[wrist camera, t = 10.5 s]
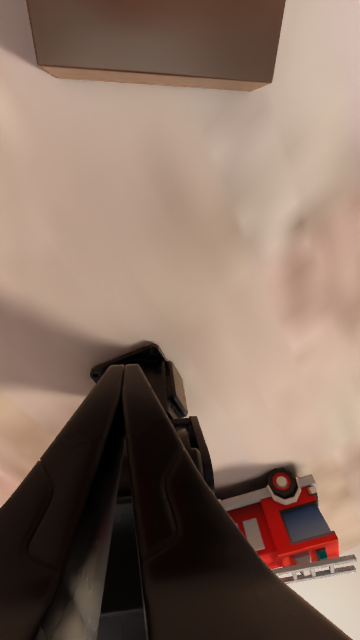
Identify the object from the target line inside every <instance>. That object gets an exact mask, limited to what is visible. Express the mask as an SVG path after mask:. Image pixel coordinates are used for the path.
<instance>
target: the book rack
mask: <svg viewBox="0 0 360 640" xmlns="http://www.w3.org/2000/svg"><path fill="white" fill-rule="evenodd" d="M26 1H27V7H28V13H29V19H30V25H31V30H32V36H33V42H34V48H35V54H36V60H37V64H38V66H40V67H41V68H43V69H44V70H45V71H47V72H48V73H50V74H51V75H53V76H54V77H56V78H67V79H81V80H95V81H110V82H124V83H138V84H153V85H167V86H181V87H196V88H210V89H224V90H239V91H253V90H255V89H258V88H260V87H262V86H265V85H267V84H270V83H272V80H273V74H274V68H275V62H276V56H277V49H278V43H279V37H280V31H281V25H282V19H283V13H284V7H285V1H286V0H26Z"/></svg>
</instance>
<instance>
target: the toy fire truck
mask: <svg viewBox="0 0 360 640" xmlns="http://www.w3.org/2000/svg"><path fill="white" fill-rule="evenodd" d="M215 496H216V495H215ZM216 498H217V497H216ZM218 501H219V502H220V503H221V505H222V506H223V507H224V509H225V510H226V512H227V513H228V514H229V516H230V517H231V518H232V520H233V521H234V522H235V524H236V525H237V527H238V528H239V529H240V531H241V532H242V533H243V535H244V536H245V537H246V539H247V540H248V541H249V543H250V544H251V546H252V547H253V548H254V550H255V551H256V552H257V553H258V555H259V556H260V557H261V558H262V560H263V561H264V562H265V563H266V564H267V566H268V567H269V568H270V569H272V571H273V572H274V573H275V574H276V575H277V576H278V575H284V574H289V573H292V575H293V576H291V577H286V578H280V579H281V580H282V581H283V582H284V583H285V584H289V583H294V582H300V581H306V580H311V579H318V578H323V577H329V576H334V575H340V574H346V573H351V572H356V569H355V567H354V566H347V567H341V568H336V569H334V565H339V564H344V563H350V562H356V561H357V559H356V557H355V556H354V555H349V556H343V557H339V547H338V538H337V536H336V534H335V532H334V531H331V530H330V528H329V527H328V525H327V523H326V521H325V520H324V518H323V516H322V514H321V512H320V511H319V508H318V507H319V506H318V496H317V490H316V482H315V480H314V479H313V477H312V475H308V476H304V477H301V478H298V477H295V478H294V477H293V475H292V473H290V472H289V471H287V470H285V469H284V468H280V469H274V470H273V471H272V472H271V473H270V474H269V485H267V487H266V488H263V489H259V490H256V491H252V492H249V493H245V494H242V495H238V496H235V497H231V498H228V499H224V500H220V499H218ZM282 566H283V568H278V567H282ZM328 566H329V570H325V571H319V572H315V569H317V568H323V567H328ZM274 568H278V569H274ZM296 572H300V573H301V574H302V575H296Z"/></svg>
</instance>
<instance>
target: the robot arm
mask: <svg viewBox="0 0 360 640" xmlns="http://www.w3.org/2000/svg"><path fill="white" fill-rule="evenodd" d="M152 349H155V351H152ZM95 373H98V374H95ZM90 376H91V378H92V379H93V380H94V381H95V383H96V385H95V386H94V388H93V389H92V390H91V392H90V393H89V394H88V396H87V397H86V398H85V400H84V401H83V402H82V404H81V405H80V406H79V408H78V409H77V410H76V412H75V413H74V414H73V416H72V417H71V418H70V420H69V421H68V422H67V424H66V425H65V426H64V428H63V429H62V430H61V432H60V433H59V434H58V436H57V437H56V438H55V440H54V441H53V442H52V444H51V445H50V446H49V448H48V449H47V450H46V451H45V453H44V454H43V455H42V457H41V458H40V460H41V461H38V462H37V463H36V465H35V466H34V467H33V469H32V470H31V471H30V473H29V474H28V475H27V477H26V478H25V479H24V480H23V482H22V483H21V484H20V485H19V487H18V488H17V489H16V490H15V492H14V493H13V494H12V495H11V497H10V498H9V499H8V500H7V501H6V502H5V504H4V505H3V506H2V507H1V508H0V640H352V639H351V638H350V637H349V636H348V635H346V634H345V633H344V632H343V631H342V630H340V629H339V628H338V627H337V626H336V625H334V624H333V623H332V622H331V621H329V620H328V619H327V618H326V617H325V616H323V615H322V614H321V613H320V612H319V611H317V610H316V609H315V608H314V607H313V606H311V605H310V604H309V603H308V602H307V601H305V600H304V599H303V598H302V597H301V596H299V595H298V594H297V593H296V592H295V591H293V590H292V589H291V588H290V587H288V586H287V585H286V584H285V583H284V582H283V581H282V580H281V579H280V578H278V576H277V575H276V574H275V573H274V572H273V571H272V570H271V569H270V568H269V567H268V566H267V564H266V563H265V562H264V561H263V560H262V558H261V557H260V556H259V555H258V553H257V552H256V551H255V550H254V548H253V547H252V546H251V544H250V543H249V541H248V540H247V539H246V537H245V536H244V535H243V533H242V532H241V531H240V529H239V528H238V527H237V525H236V524H235V522H234V521H233V520H232V518H231V517H230V516H229V514H228V513H227V512H226V510H225V509H224V507H223V506H222V505H221V503H220V502H219V501H218V499H217V498H216V496H215V487H214V477H213V469H212V463H211V459H210V455H209V451H208V448H207V446H206V443H205V440H204V437H203V434H202V431H201V428H200V425H199V422H198V419H197V416H190V417H189V418H183V417H186V416H187V414H188V410H187V404H186V398H185V392H184V387H183V381H182V378H181V376H180V375H179V373H178V371H177V370H176V368H175V366H174V364H173V363H172V362H171V361H167V359H166V358H165V356H164V354H163V353H162V351H161V349H160V348H159V346H158V345H156V344H151V345H148V346H146V347H144V348H141V349H139V350H136V351H134V352H131V353H129V354H126V355H124V356H122V357H119V358H117V359H114V360H112V361H109V362H107V363H104V364H102V365H100V366H97V367H95V368H93V369H91V372H90Z"/></svg>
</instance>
